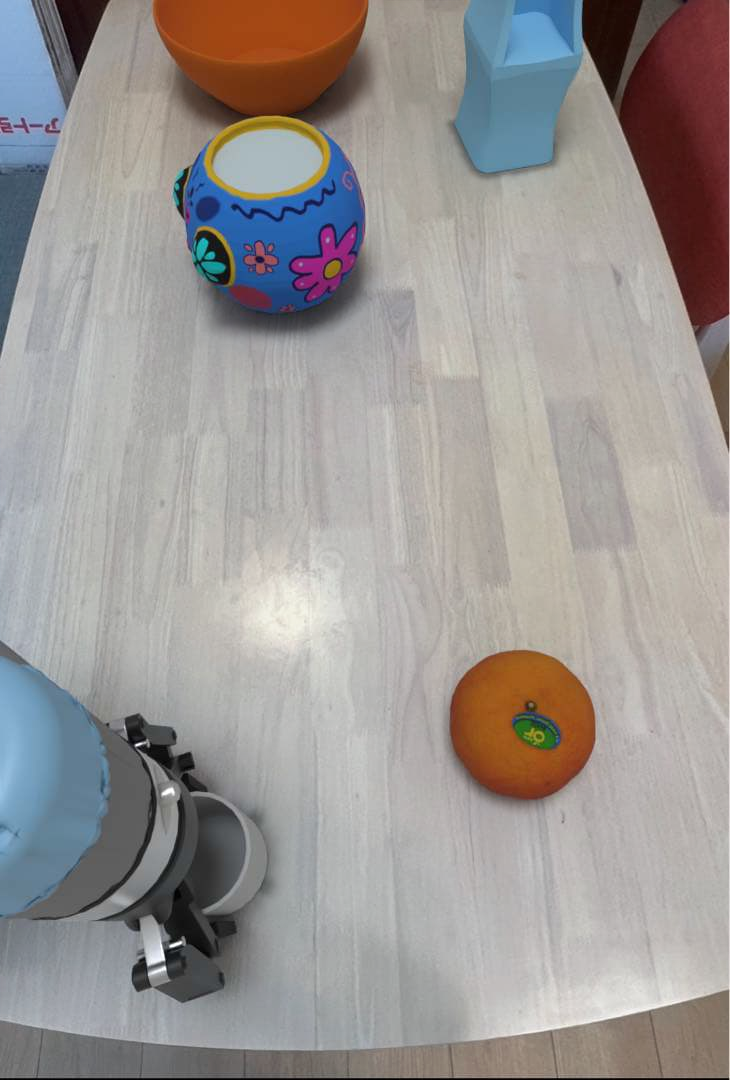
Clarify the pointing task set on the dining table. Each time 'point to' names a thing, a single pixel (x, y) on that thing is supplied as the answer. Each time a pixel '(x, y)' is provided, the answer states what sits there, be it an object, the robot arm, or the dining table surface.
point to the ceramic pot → (272, 213)
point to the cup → (225, 856)
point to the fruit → (522, 724)
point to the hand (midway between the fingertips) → (202, 863)
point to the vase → (516, 79)
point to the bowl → (262, 48)
